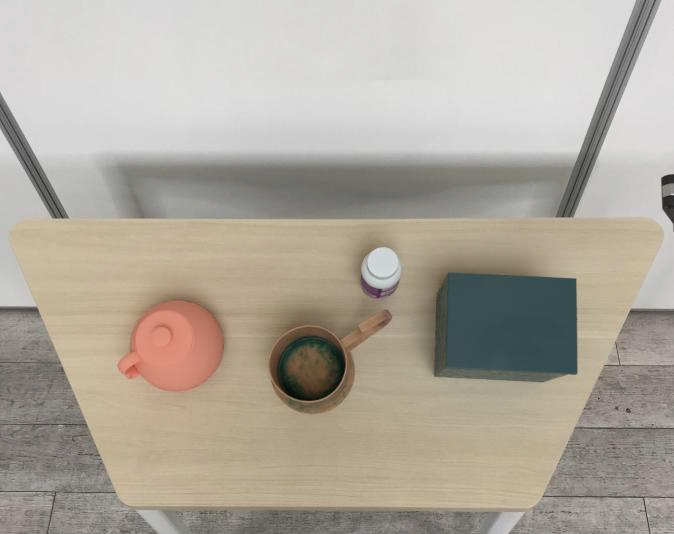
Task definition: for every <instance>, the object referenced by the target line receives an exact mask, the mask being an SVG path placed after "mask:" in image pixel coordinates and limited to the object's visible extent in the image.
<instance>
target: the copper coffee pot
mask: <svg viewBox="0 0 674 534" xmlns="http://www.w3.org/2000/svg"><path fill="white" fill-rule="evenodd" d="M392 320H393V315H392V313H391V312H390V310H389V309H388V308H387V309H384V310H381V311H379V312H377V313H376V314H374V315H372V316H370V317H368V318H367V319H365V320H363V321H361V322H360V323H358V324H357V327H356V328H355V329H354V330H353V331H351V332H350V333H349V334H347V335H346V336H345V337H342V338H341V339H340V338H339V337H338V336H337V335H336V334H335V333H334V332H333V331H331V330H329V329H328V328H325V327H323V326H321V325H314V324H305V325H300V326H296V327H293V328H291V329H289V330H288V331H286V332H284V333H283V334H282V335H281V336H280V337H278V339H277V340H276V341H275V343H274V344H273V346H272V347H271V349H270V352H269V355H268V360H267V369H268V374H269V378H270V381H271V385H272V388H273V390H274V392H275V394H276V396H277V397H278V399H279V400H280V401H281V402H282V403H283V404H285V405H286V406H287V407H288V408H290V409H292V410H294V411H296V412H297V413H302V414H308V415H317V414H323V413H326V412H329V411H332V410H333V409H335V408H336V407H338V406H339V405H340V404H342V403H343V402H344V400H345V399H346V398H347V397H348V395H349V393H350V392H351V390H352V387H353V385H354V381H355V375H356V373H355V370H356V369H355V362H354V358H353V355H352V354H351V351H353V350H354V349H355V348H357V347H358V346H359V345H361V344H362V343H364V342H365V341H367V340H368V339H369V338H371V337H372V336H374V335H375V334H377V333H379V332H380V331H381V330H383V329H384V328H386V327H387V326H388V325H389V324H390V322H391V321H392Z"/></svg>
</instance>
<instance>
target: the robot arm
mask: <svg viewBox="0 0 674 534" xmlns="http://www.w3.org/2000/svg"><path fill="white" fill-rule="evenodd" d="M660 187H661V189H660V190H661V193H660V194H661V209H662V211H663V212H664V214H665V215H666V216H667V217H668V219H669V220H670V221H671V223H672V229H673V231H674V173H670V174H666V175H665V174H664V175H663V176H662V177H661V178H660Z"/></svg>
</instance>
